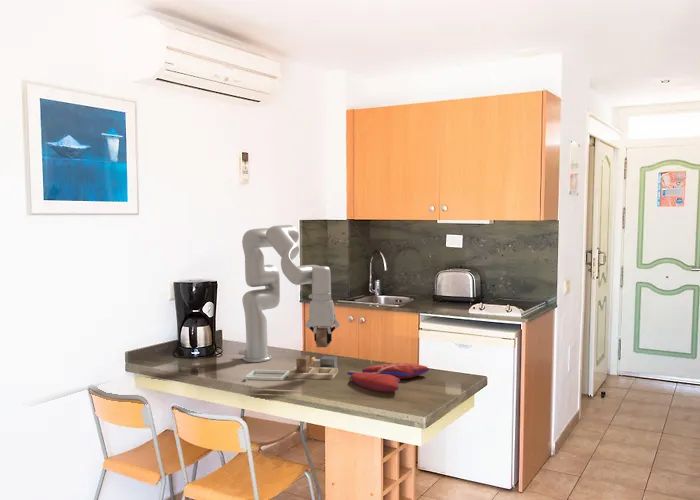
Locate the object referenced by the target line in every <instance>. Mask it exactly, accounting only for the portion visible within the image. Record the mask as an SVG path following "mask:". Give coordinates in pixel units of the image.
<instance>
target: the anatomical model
mask: <svg viewBox="0 0 700 500" xmlns="http://www.w3.org/2000/svg"><path fill="white" fill-rule="evenodd" d="M428 371H430V368H429V367H428V366H426V365H422V364H415V363H409V362H401V363H400V362H399V363H381V364H374V365H371V366H367V367H363V369H361V371H353V370H349V371H347V375H350V379H351V381H352V382H353V383H354V384H356V385H358V386H359V387H361V388H365V389H369V390H371V391H376V392H395V391H398V390H399V384H400V382H401V379H402V380H405V379H411V378H414V377H417V376H420V375H424V374H425V373H427V372H428Z"/></svg>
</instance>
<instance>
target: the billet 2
mask: <svg viewBox="0 0 700 500" xmlns="http://www.w3.org/2000/svg"><path fill="white" fill-rule="evenodd" d="M327 334H328V330H327V327H318V328H317V329H316V341H315V344H316V345H315V347H316V348H327V347H328V346H330V344H331V342H330V343H329V344H327Z"/></svg>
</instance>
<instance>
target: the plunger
mask: <svg viewBox="0 0 700 500" xmlns="http://www.w3.org/2000/svg"><path fill="white" fill-rule="evenodd" d="M320 359H321V358H320ZM320 359H318V358H316V356H312V357H311V358H310V367H315V365H320Z"/></svg>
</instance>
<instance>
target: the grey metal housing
mask: <svg viewBox="0 0 700 500" xmlns="http://www.w3.org/2000/svg"><path fill="white" fill-rule="evenodd" d="M319 365H320V366H319V367H323V368H338V356H335V355H334V356H332V355H331V356H327V355H323V356H322V357H321V358H320V364H319Z"/></svg>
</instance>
